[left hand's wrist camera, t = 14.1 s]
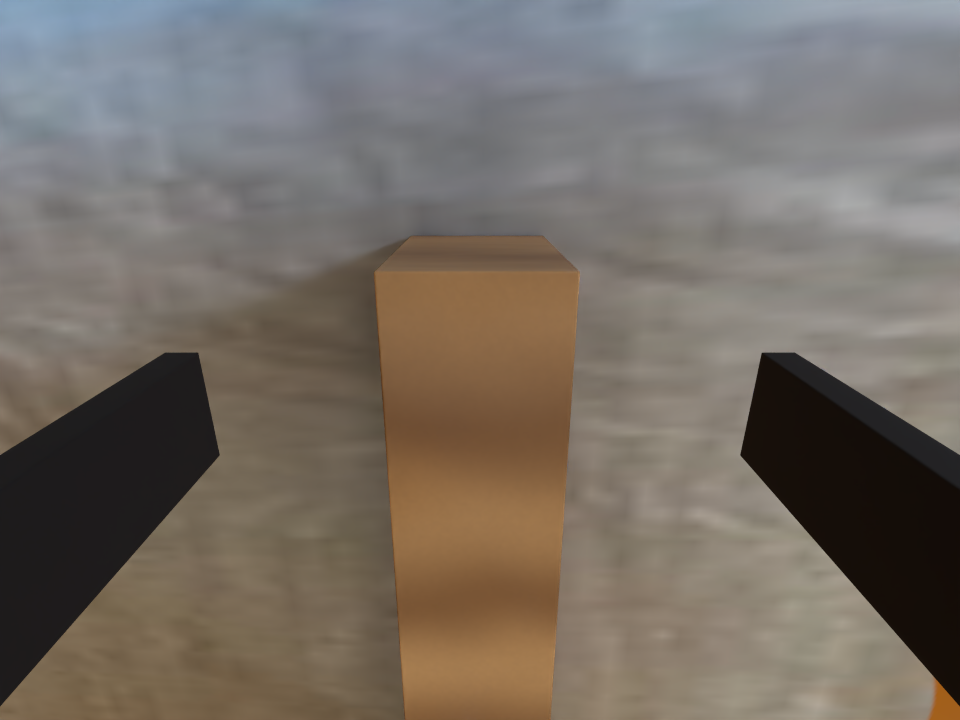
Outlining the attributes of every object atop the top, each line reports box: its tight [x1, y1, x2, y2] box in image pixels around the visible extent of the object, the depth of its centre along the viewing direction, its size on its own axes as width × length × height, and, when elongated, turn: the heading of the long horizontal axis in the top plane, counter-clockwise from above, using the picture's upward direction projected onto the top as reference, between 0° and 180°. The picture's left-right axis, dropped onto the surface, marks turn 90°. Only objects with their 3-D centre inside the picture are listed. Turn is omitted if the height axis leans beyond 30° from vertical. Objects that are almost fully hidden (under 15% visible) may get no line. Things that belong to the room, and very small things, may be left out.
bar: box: [374, 236, 580, 720], centre depth 23 cm, size 34×6×8 cm, turn 0°
